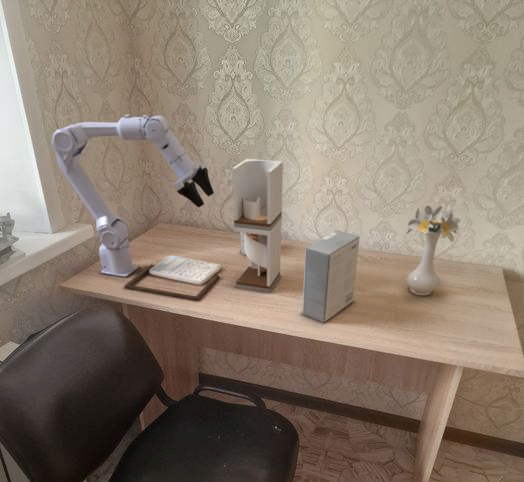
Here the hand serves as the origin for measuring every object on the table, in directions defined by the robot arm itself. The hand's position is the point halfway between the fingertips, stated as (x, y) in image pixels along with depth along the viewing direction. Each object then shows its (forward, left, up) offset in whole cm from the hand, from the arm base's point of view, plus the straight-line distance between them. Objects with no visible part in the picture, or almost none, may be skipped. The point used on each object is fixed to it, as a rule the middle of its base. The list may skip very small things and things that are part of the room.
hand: (206, 200), depth 135 cm
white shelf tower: (+16, 0, -24) cm, 29 cm away
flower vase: (+64, +11, -24) cm, 69 cm away
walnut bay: (-9, -10, -24) cm, 27 cm away
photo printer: (+5, +23, -24) cm, 34 cm away
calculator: (-9, -1, -24) cm, 26 cm away
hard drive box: (+40, -9, -24) cm, 48 cm away
